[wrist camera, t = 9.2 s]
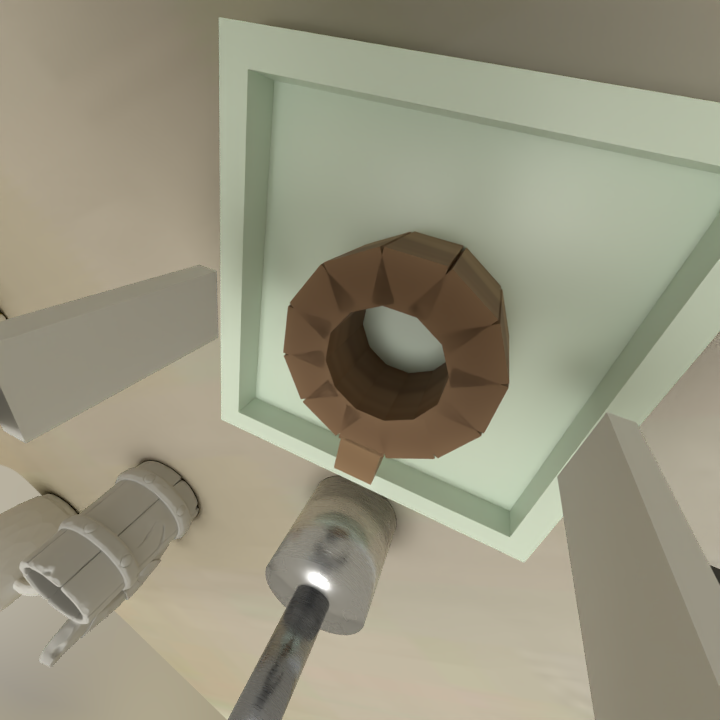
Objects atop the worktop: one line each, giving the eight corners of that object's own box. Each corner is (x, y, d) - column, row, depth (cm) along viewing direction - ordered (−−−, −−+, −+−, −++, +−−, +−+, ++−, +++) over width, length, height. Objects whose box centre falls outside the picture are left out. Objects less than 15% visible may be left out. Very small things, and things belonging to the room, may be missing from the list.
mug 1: (53, 520, 48) (-42, 589, 40) (30, 475, 44) (-81, 543, 36) (120, 558, 45) (32, 643, 37) (103, 514, 41) (-1, 599, 32)
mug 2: (199, 479, 29) (40, 631, 19) (206, 556, 35) (88, 702, 25) (130, 444, 31) (-48, 568, 21) (148, 523, 37) (16, 648, 27)
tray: (261, 41, 13) (218, 17, 11) (809, 142, 10) (888, 131, 8) (246, 398, 23) (221, 419, 21) (522, 522, 19) (524, 562, 17)
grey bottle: (321, 462, 23) (175, 680, 13) (407, 502, 21) (318, 779, 11) (310, 516, 26) (185, 726, 16) (384, 554, 25) (298, 809, 15)
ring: (346, 211, 14) (296, 220, 11) (543, 268, 13) (556, 299, 9) (314, 395, 19) (274, 439, 16) (452, 454, 18) (439, 517, 14)
